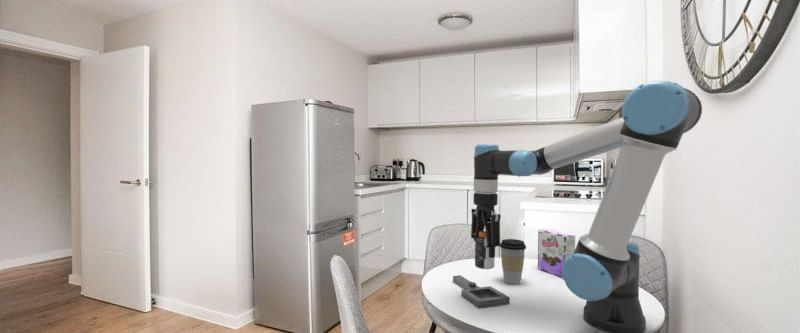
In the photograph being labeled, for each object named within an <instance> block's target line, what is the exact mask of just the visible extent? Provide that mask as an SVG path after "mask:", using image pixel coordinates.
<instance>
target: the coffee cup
mask: <svg viewBox="0 0 800 333" xmlns="http://www.w3.org/2000/svg"><path fill="white" fill-rule="evenodd" d="M499 247H500V258H501V268H502V275H503V281H504V283H505V284H508V285H513V284H514V285H515V286H516V285H520V284H521V282H522V276H523V275H522V274H523V269H524V263H525V262H524V260H525V250H526V249H527V245H526V244H525V242H524V241H523V240H522V239H521V240H520V239H514V238H507V239H502V240H501V242H500V246H499ZM514 285H513V286H514Z"/></svg>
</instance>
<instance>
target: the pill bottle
mask: <svg viewBox="0 0 800 333" xmlns="http://www.w3.org/2000/svg"><path fill="white" fill-rule="evenodd" d="M486 246H488V244H487V237H486V230H484V231H480V232H479V238H477V239H476V243H475V242H474V266H475V267H476V268H478V269H482V270H491V269H493V268H494V267H492V268H486Z"/></svg>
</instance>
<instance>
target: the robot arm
mask: <svg viewBox="0 0 800 333" xmlns="http://www.w3.org/2000/svg"><path fill="white" fill-rule="evenodd" d="M702 113H703V105H702V102H701V99H700V98H699V97H698V96H697V94H696V93H694V92H693V91H692V90H690V89H688V88H685V87H683V86H682V85H680V84H678V83H677V82H672V81H669V80H668V81H667V80H651V81H648V82H644V83H642V84H640V85H638V86H637V87H635V88H634V89H632V90H631V91H630V92H629V94H627V96H626V97H625V99H624V101H623V103H622V107H621V116H622V117H620V118H617V119H613V120H612V121H609V122H606V123H604V124H601V125H599V126H596V127H593V128H590V129H588V130H586V131H582V132H580V133H577V134H575V135H572V136H570V137H567V138H564V139H562V140H559V141H557V142H554V143H551V144H549V145H545V146H544V147H543V146H542V147H540V148H538V149H536V150H525V149H523V150H521V149H519V150H500V149H499V145H498V144H496V143H495V144H493V143H480V144H479V143H478V144H475V147H474V153H473V154H474V155H473V156H474V157H473V165H474V166H473V170H474V173H473V174H474V176H473V177H474V178H473V191H474V193H473V205H475V206H476V208H471V210H470V212H471V231H470V238H471V239H473V241H474V244H475V243H476V239H477V238H479V232H480V231H486V237H487V244H488V246H486V268H492V267H493V268H495V261H496V260H495V257H496V247H500V243H501V240H500V239H501V238H500V234H501V232H500V231H501V229H500V228H501V226H500V222H501V214H499V213H496V211H495V210H496V209H495V206H497V205H498V201H499V200H498V199H499V196H498V193H497V192H498V190H499V189H498V187H499V186H498V184H499V183H498V181H499V175H500V176H501V175H502V176H514V177H530V176H532V175H537V176H539V175H540V176H541V175H545V174H549V173H550V172H551V171H553V170H556V169H559V168H561V167H564V166H567V165H571V164H574V163H577V162H579V161H583V160H585V159H589V158H592V157H595V156H598V155H602V154H604V153H608V152H612V151H614V150H617V149H620V148H621V149H620V152H619V154H618V156H617V159H616V161H615V164H614V167H613V170H612V172H611V175H610V177H609V180H608V183H607V185H606V187H605V190H604V193H603V195H602V196H601V197H602V198H601V200H600V203H599V205H598V207H597V211H596V213H595V216H594V218H593V221H592V224H591V226H590V229H589V231H588V233H587V234H583V235H581V236H580V237H579V238H578V241H577V243H576V245H575V251H574V254H572V255H570V256H569V257H568V258H567V259H566V260H565V261H564V263H563V265H562V277H563V278H562V277H561V278H562V280H563V281H564V284H565V285H566V287H567V288H568V290H569V291H570V292H571V293H573V295H575V296H576V297H578V298H579V299H582V300H585V301H586V302H585V305H584V307H583V312H582V313H583V314H582V317H583V320H584V321H586V323H588V324H589V325H591V326H593V327H594V328H598V329H599V330H603V331H606V332H610V333H643V332H645V331H646V329H647V319H646V317H645V315H644V313H643V308H642V305H641V302H640V297H639V296H640V295H639V294H640V293H639V292H640V291H639V289H640V288H639V287H640V286H639V285H640V258H641V255H640V246H639V245H638V244H637V243H636V242H633V241H630V239H631V236H632V235H633V232H634V229H635V227H636V226H637V223H638V221H639V218H640V215H641V213H642V211H643V208H644V206H645V204H646V201H647V199H648V196H649V194H650V192H651V190H652V188H653V185H654V182H655V180H656V178H657V175H658V172H659V170H660V168H661V165H662V164H663V161H664V158H665V156H666V155H667V154H669V153H672V152H674V151H677V149H678V146H679V145H680V144H679V143H680V141H681V140H682V137H683V135H684V134H685V133H688V132H690V130H692V129H693V128H695V126H696V125H697V124H698V123H699V121H700V120H701V117H702ZM493 268H492V269H493Z"/></svg>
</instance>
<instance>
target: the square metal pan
mask: <svg viewBox="0 0 800 333" xmlns="http://www.w3.org/2000/svg"><path fill="white" fill-rule="evenodd" d="M452 282H453V283H454V284H456V285H458V287H461V288H463V289H461V297H462V298H464V299H465V300H466V301H468V302H469V303H471V305H473V306H474V307H476V308H477V309H483V308H491V307H498V306H504V305H510V304H511V303H510V302H511V301H510V300H511V298H510V296H508V295H506V294H504V293H503V292H501V291H499V290H497V289H496V288H495V287H492V286H491V285H489V286H481V287H480V286H478V285H477V282H474V281H471V280H469V279H467V278H466V277H464V276H462V275H460V274H459V275H458V274H457V275H453V276H452Z"/></svg>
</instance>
